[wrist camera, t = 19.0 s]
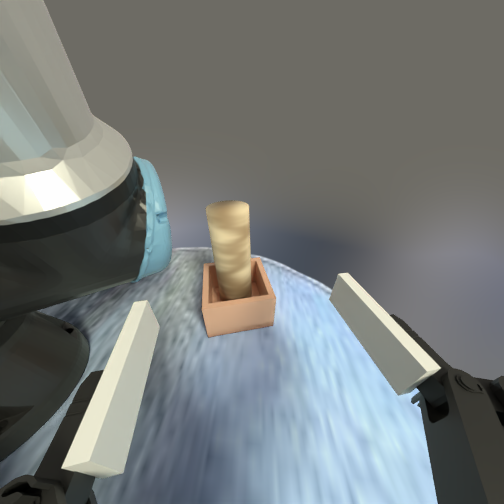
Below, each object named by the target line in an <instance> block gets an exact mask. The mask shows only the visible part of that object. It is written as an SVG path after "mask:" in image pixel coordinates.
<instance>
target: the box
mask: <svg viewBox="0 0 504 504" xmlns="http://www.w3.org/2000/svg"><path fill="white" fill-rule="evenodd" d="M251 286H252V297H250V298H243V299H236V300H229V301H223V302H221V298H220V292H219V286H218V280H217V274H216V268H215V262H214V263H206V264H204V270H203V293H202V313H203V317H204V321H205V326H206V330H207V334H208V337H214V336H219V335H225V334H230V333H236V332H241V331H247V330H253V329H258V328H264V327H269V326H273V322H274V313H275V304H276V297H275V294H274V292H273V289H272V287H271V284H270V282H269V279H268V277H267V274H266V272H265V270H264V267H263V265H262V262H261V260H260V257H259V258H251Z"/></svg>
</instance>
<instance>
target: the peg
mask: <svg viewBox="0 0 504 504" xmlns="http://www.w3.org/2000/svg"><path fill="white" fill-rule="evenodd" d="M206 214H207V220H208V226H209V232H210V238H211V244H212V250H213V256H214V262H215V268H216V274H217V280H218V286H219V292H220V298H221V302H223V301H229V300H236V299H243V298H250V297H252V286H251V256H250V229H249V228H250V226H249V205H248V204H247V203H245V202H241V201H220V202H216V203H212V204H210V205H208V206H207V207H206Z"/></svg>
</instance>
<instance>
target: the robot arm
mask: <svg viewBox="0 0 504 504" xmlns="http://www.w3.org/2000/svg"><path fill="white" fill-rule="evenodd" d="M171 256H172V240H171V230H170V224H169V221H168V219H167V209H166V202H165V198H164V194H163V190H162V187H161V183H160V180H159V178H158V175H157V173H156V171H155V169H154V167H153V165H152V164H151V163H150V162H149V161H147V160H144V159H140V158H136V157H133V155H132V152H131V149H130V147H129V145H128V143H127V141H126V140H125V139H124V137H123V136H122V135H121V134H120V133H118V132H117V131H116V130H114V129H113V128H111V127H110V126H109V125H107V124H105V123H104V122H102V121H101V120H99V119H98V118H96V117H95V116H93V115H92V114H91V112H90V109H89V107H88V105H87V102H86V100H85V97H84V95H83V93H82V90H81V88H80V86H79V83H78V81H77V79H76V76H75V74H74V71H73V69H72V67H71V64H70V62H69V60H68V57H67V55H66V52H65V50H64V48H63V45H62V43H61V41H60V38H59V36H58V34H57V31H56V29H55V27H54V24H53V22H52V19H51V18H50V15H49V13H48V10H47V8H46V5H45V3H44V1H43V0H0V461H2V460H3V459H4V458H6V457H7V456H8V455H9V454H11V453H12V452H13V451H15V450H16V449H17V448H18V447H19V446H21V445H22V444H23V443H24V442H25V441H26V440H28V439H29V438H30V437H31V436H32V435H33V434H34V433H35V432H36V431H38V430H39V429H40V428H41V427H42V426H43V425H44V424H45V423H46V422H47V421H48V420H49V419H50V417H51V416H52V415H53V414H54V413H55V412H56V411H57V410H58V409H59V407H60V406H61V405H62V404H63V403H64V401H65V400H66V399H67V398H68V396H69V395H70V394H71V392H72V391H73V389H74V388H75V386H76V385H77V383H78V381H79V380H80V378H81V376H82V374H83V372H84V370H85V367H86V364H87V361H88V357H89V344H88V341H87V339H86V338H85V337H84V335H83V334H82V333H81V332H80V331H79V330H78V329H77V328H76V327H75V326H73V325H72V324H70V323H67V322H65V321H62V320H60V319H57V318H54V317H52V316H49V315H47V314H44V313H41V312H39V311H37V310H40V309H44V308H47V307H50V306H53V305H56V304H60V303H63V302H66V301H69V300H73V299H76V298H79V297H82V296H86V295H89V294H92V293H95V292H99V291H102V290H105V289H108V288H112V287H115V286H118V285H122V284H125V283H129V282H130V283H134V282H137V281H139V280H141V278H143V277H146V276H149V275H152V274H154V273H157V272H160V271H162V270H163V269H165V268H166V267H167V266H168V264H169V262H170V260H171ZM329 300H330V301H331V303H332V304H333V305H334V307H335V308H336V310H337V311H338V312H339V314H340V315H341V317H342V318H343V319H344V321H345V322H346V324H347V325H348V326H349V328H350V329H351V331H352V332H353V333H354V335H355V336H356V338H357V339H358V340H359V342H360V343H361V345H362V346H363V347H364V349H365V350H366V352H367V353H368V354H369V356H370V357H371V358H372V360H373V361H374V363H375V364H376V365H377V367H378V368H379V370H380V371H381V372H382V374H383V375H384V377H385V378H386V379H387V381H388V382H389V384H390V385H391V386H392V388H393V389H394V391H395V392H396V393H397V395H398V396H399V395H403V394H406V393H410V392H411V391H413V390H414V389H415V388H417V389H418V390H419V391H420V392H419V393H417V394H416V395H415V396H413V398H412V399H411V403H413V404H414V403H416V402H417V401H419V403H418V405H417V406H419V407H420V408H421V413H422V419H423V424H424V430H425V435H426V441H427V446H428V452H429V457H430V463H431V468H432V474H433V479H434V485H435V490H436V496H437V501H438V504H504V376H501V377H499V378H497V379H495V380H487V379H481V378H474V377H472V376H471V375H469V374H468V373H466V372H464V371H462V370H458V369H454V368H452V367H451V366H450V365H448V364H447V363H446V362H445V361H444V360H443V359H442V358H441V357H440V356H439V355H438V354H437V353H436V352H435V351H434V350H433V349H432V348H431V347H430V346H429V345H428V344H427V343H426V342H425V341H424V340H423V339H422V338H420V337H419V336H418V335H417V334H416V333H415V332H414V331H412V329H411V328H410V327H409V326H408V325H407V324H406V323H405V322H404V321H403V320H401V319H400V318H398V317H396V316H395V315H394V314H393V315H388V313H386V311H385V310H384V309H383V308H382V307H381V306H380V305H379V304H378V303H377V302H376V301H375V300H374V299H373V298H372V297H371V296H370V295H369V294H368V293H367V292H366V291H365V290H364V289H363V288H362V287H361V286H360V285H359V284H358V283H357V282H356V281H355V280H354V279H353V278H352V277H351V276H350V275H349V274H348V273H342V274H338V276H337V280H336V282H335V285H334V288H333V290H332V293H331V296H330V298H329ZM159 328H160V326H159V324H158V322H157V320H156V317H155V315H154V313H153V311H152V309H151V307H150V304H149V302H148V300H145V301H138V302H134V303H133V305H132V308H131V310H130V312H129V315H128V317H127V319H126V321H125V324H124V326H123V328H122V331H121V333H120V335H119V337H118V340H117V342H116V344H115V347H114V349H113V351H112V353H111V356H110V358H109V360H108V363H107V365H106V367H105V369H104V370H101V371H95V372H91V373H90V375H89V376H88V377H87V378H86V379H85V381H84V382H83V383H82V384H81V385H80V387H79V389H78V391H77V393H76V395H75V397H74V399H73V402H72V404H71V405H70V407H69V409H68V411H67V413H66V416H65V417H64V419H63V420H62V422H61V424H60V426H59V428H58V430H57V432H56V434H55V436H54V438H53V440H52V442H51V444H50V446H49V448H48V450H47V452H46V454H45V456H44V458H43V460H42V462H41V464H40V466H39V468H38V470H37V471H36V473H35V475H34V476H31V475H23V476H21V477H18V478H15V479H14V480H12V481H11V482H9V483H8V484H7V485H5V486H4V487H2V488H1V489H0V504H97V501H96V498H95V495H94V492H93V490H92V486H93V483H94V480H95V477H96V478H100V479H104V478H108V477H111V476H115V475H118V474H122V473H124V469H125V465H126V461H127V457H128V453H129V449H130V445H131V441H132V437H133V433H134V429H135V425H136V421H137V417H138V413H139V409H140V405H141V401H142V397H143V393H144V389H145V385H146V381H147V377H148V373H149V369H150V364H151V360H152V356H153V352H154V348H155V344H156V340H157V336H158V332H159Z"/></svg>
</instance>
